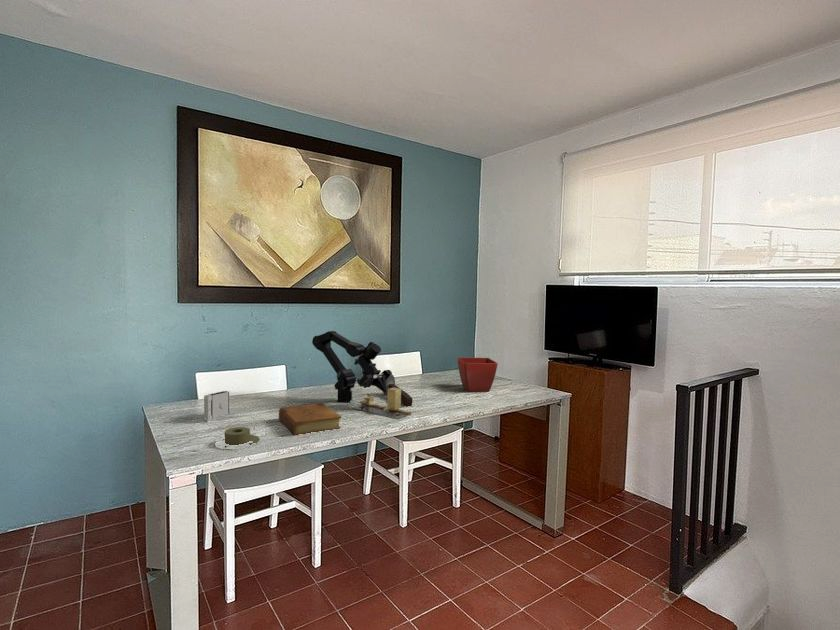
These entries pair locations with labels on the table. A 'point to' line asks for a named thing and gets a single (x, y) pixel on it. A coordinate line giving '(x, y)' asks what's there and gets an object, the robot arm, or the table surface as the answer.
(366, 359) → the robot arm
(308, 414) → the diary
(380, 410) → the bolt strip
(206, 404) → the grey rectangular block
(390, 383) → the hammer
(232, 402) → the table surface
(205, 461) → the table surface
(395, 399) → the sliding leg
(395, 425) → the table surface
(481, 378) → the plant pot
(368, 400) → the trammel bar
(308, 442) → the table surface
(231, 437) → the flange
